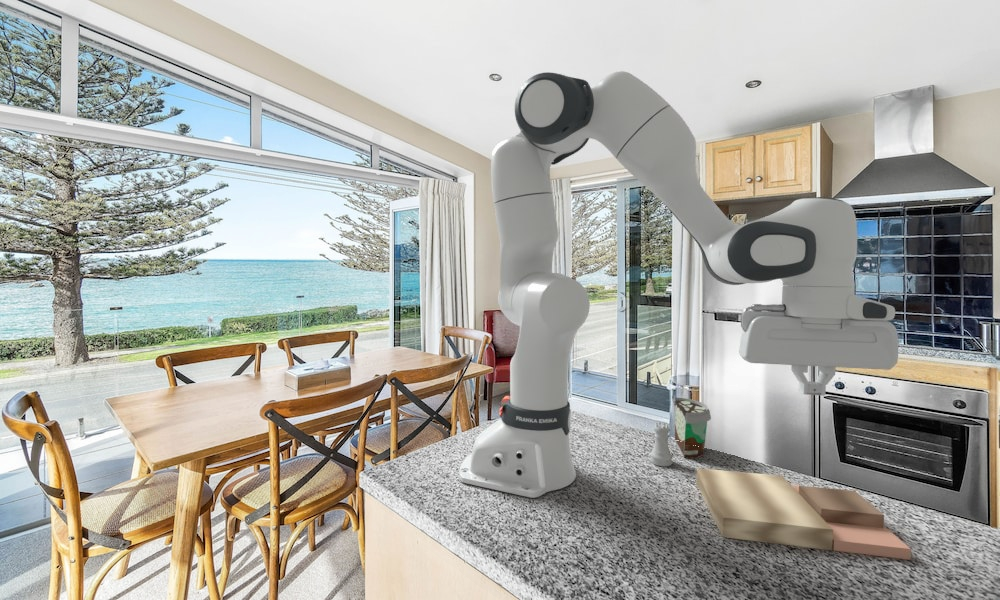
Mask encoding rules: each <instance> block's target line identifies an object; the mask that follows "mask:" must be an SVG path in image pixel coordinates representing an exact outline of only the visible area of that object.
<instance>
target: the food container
mask: <svg viewBox="0 0 1000 600" xmlns="http://www.w3.org/2000/svg"><path fill="white" fill-rule="evenodd" d="M673 406H674V442H675V444H676V446H677V448H678V450H679V452H680V453H681V455H682V457H683V459H696V458H697V459H698V458H700V457H702V456H703V455H704V452H705V447H706V446H705V445H706V436H707V427H708V421H711V419H712V416H711V411H710V409H709V407H708V405H707V404H705V403H703V402H701V401H698V400H695V399H690V398H686V397H685V398H684V397H674V400H673ZM675 440H679V441H675ZM680 441H682V442H680ZM693 445H694V446H693ZM695 445H696V446H695ZM698 446H699V447H698ZM703 448H704V449H703Z"/></svg>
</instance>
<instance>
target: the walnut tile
mask: <svg viewBox="0 0 1000 600" xmlns="http://www.w3.org/2000/svg"><path fill="white" fill-rule="evenodd" d="M798 486H799V494H800V495H801V496H802V497H803V498H804V499H805V500H806V501H807V502H808V504H809V505H810V506H811V507H812V508H813V509H814V510H815V511H816V512H817V513H818V514H819V515H820V516H821V517H822V518H823V520H824V521H825V522H830V523H839V524H849V525H858V526H867V527H876V528H883V527H884V526H885V523H884V521H885V514H884V513H882V512H881V511H880V509H877V508H876V507H875V506H874V505H873V504H871V503H870V501H868V500H866V498H865V497H863V496H862V495H861V494H860V493H858V491H856V490H849V489H839V488H831V489H830V488H829V487H819V486H818V487H816V486H809V485H798Z"/></svg>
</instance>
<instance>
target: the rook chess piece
mask: <svg viewBox="0 0 1000 600" xmlns="http://www.w3.org/2000/svg"><path fill="white" fill-rule="evenodd" d="M652 428H653V431H655V434H654V438H655V439H654V446H653V448H652V450H651V451H650V457H649V461H650V462H651V463H652V464H653V465H655V466H658V467H663V468H665V467H670V466H671V465H673V463H674V462H673V460H672V459H673V454H672V453H671V450H670V449H669V438H670V436H669V435H668V434H669V433H670V432H671V429H670V428H669V424H668V423H666V422H662V423H661V422H660V421H659V422H658V421H657V422H655V424H654V427H652Z"/></svg>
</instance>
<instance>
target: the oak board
mask: <svg viewBox="0 0 1000 600" xmlns="http://www.w3.org/2000/svg"><path fill="white" fill-rule="evenodd" d="M792 485H793V484H791V483H790V482H789V481H788V480H787V479H786V478H785V477H784V476H783V475H779V474H778V475H777V474H768V473H767V474H765V473H755V472H743V471H735V470H734V471H733V470H722V469H721V470H720V469H712V468H711V469H709V468H700V467H696V486H697V487H698V489H699V492H700V494H701V496H702V498H703V499H704V502H705V504H706V506H707V508H708V510H709V512H710V514H711V516H712V518H713V520H714V522H715V524H716V526H717V528H718V531H719V533H720V535H721V536H722V538H726V539H727V538H728V539H734V540H735V539H736V540H737V539H738V540H744V541H750V542H751V541H753V542H761V543H770V544H776V545H777V544H778V545H783V546H784V545H785V546H794V547H801V548H810V549H819V550H827V551H833V549H832V540H833V529H832V528H831V527H830V526H829V525H828V524H827V523H826V522H825V521H824V520H823V518H822V517H821V516H820V515H819V514H818V513H817V512H816V511H815V510H814V509H813V508H812V507H811V506H810V505H809V504H808V502H807V501H806V500H805V499H804V498H803V497H802V496H801V495H800V494H799V493H798V492H797V491H796V490H795V489H794V488H793V486H792Z"/></svg>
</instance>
